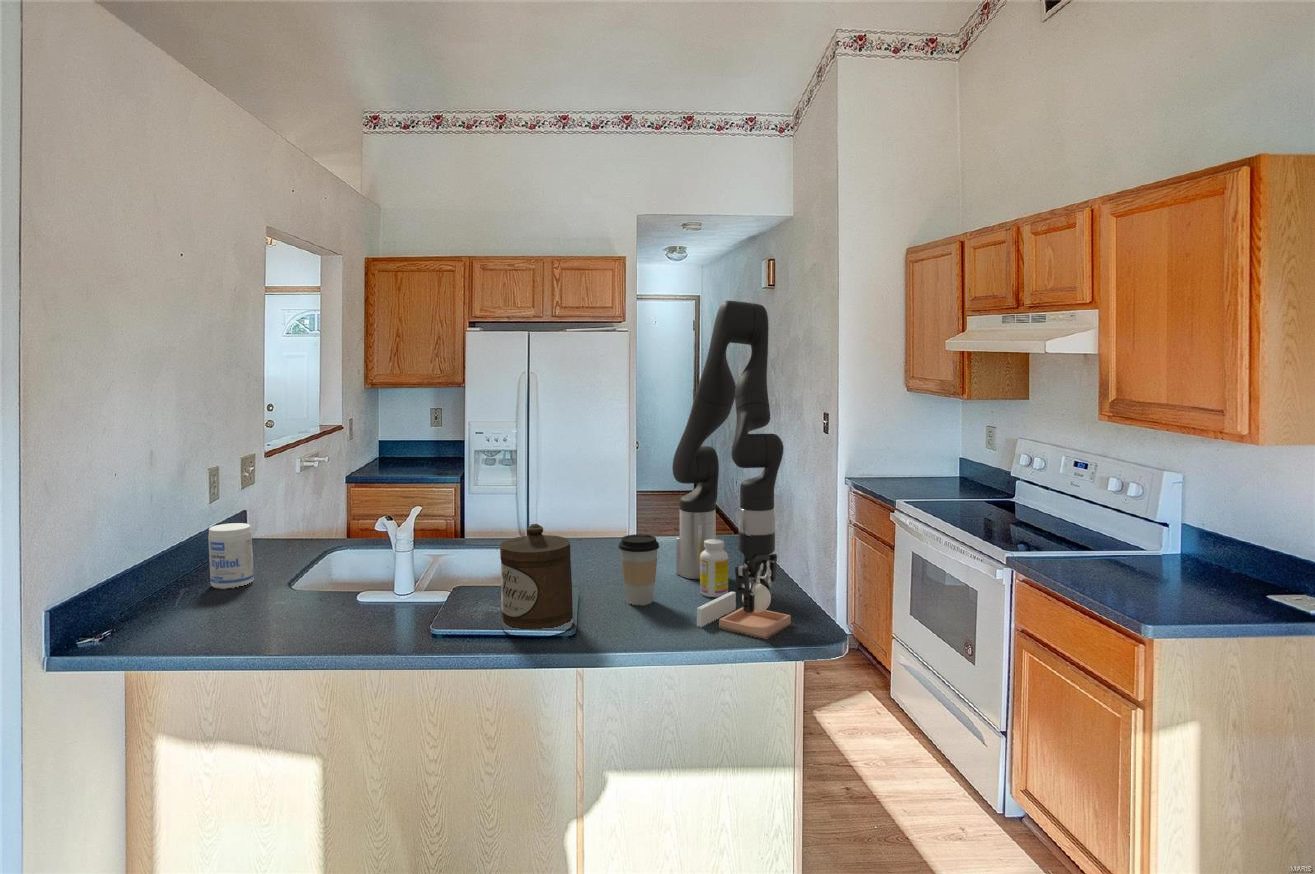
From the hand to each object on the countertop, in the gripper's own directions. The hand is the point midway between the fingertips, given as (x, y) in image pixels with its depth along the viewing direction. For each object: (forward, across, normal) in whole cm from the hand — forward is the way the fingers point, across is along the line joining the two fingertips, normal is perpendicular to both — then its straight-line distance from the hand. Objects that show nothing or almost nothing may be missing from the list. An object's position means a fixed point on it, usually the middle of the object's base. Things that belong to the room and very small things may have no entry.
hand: (756, 607), depth 171 cm
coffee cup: (+4, +1, -30) cm, 31 cm away
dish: (+4, 0, 0) cm, 4 cm away
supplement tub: (+4, +49, -121) cm, 131 cm away
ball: (+1, 0, 0) cm, 1 cm away
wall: (+4, 0, -10) cm, 11 cm away
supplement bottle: (+4, -14, -19) cm, 24 cm away
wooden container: (+4, +26, -38) cm, 46 cm away
